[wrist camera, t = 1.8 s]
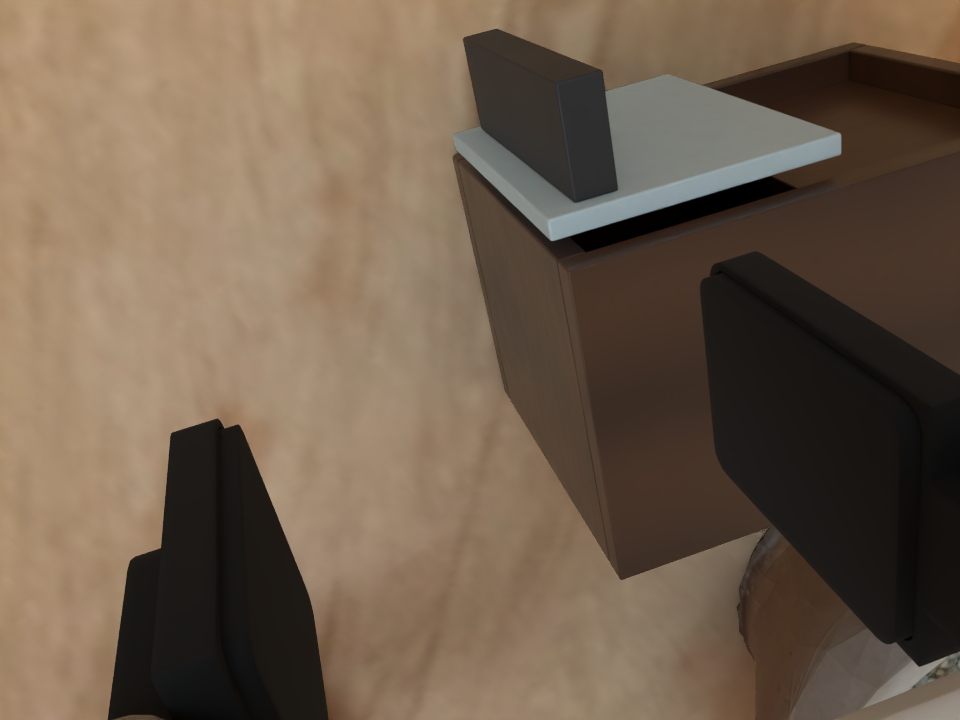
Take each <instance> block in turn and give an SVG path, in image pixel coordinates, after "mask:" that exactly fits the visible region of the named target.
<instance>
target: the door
mask: <svg viewBox="0 0 960 720" xmlns="http://www.w3.org/2000/svg"><path fill="white" fill-rule="evenodd" d="M463 42H464V47H465V52H466V57H467V61H468V66H469V71H470V76H471V81H472V86H473V91H474V96H475V100H476V105H477V110H478V115H479V120H480V125H481V126H479V127H476V128H472V129H468V130H465V131H461V132H458V133H454V134H453V138H454V143H455V147H456V150H457V151H458V152H459V153H460V154H461V155H462V156H463V157H464V158H465V159H466V160H467V161H468V162H470V163H471V164H472V165H473V166H474V167H475V168H476V169H477V170H478V171H479V172H480V173H481V174H482V175H483V176H484V177H485V178H486V179H487V180H488V181H489V182H490V183H491V184H492V185H493V186H494V187H496V188H497V189H498V190H499V191H500V192H501V193H502V194H503V195H504V196H505V197H506V198H507V199H508V200H509V201H510V202H511V203H512V204H513V205H514V206H515V207H516V208H517V209H518V210H519V211H520V212H521V213H523V214H524V215H525V216H526V217H527V218H528V219H529V220H530V221H531V222H532V223H533V224H534V225H535V226H536V227H537V228H538V229H539V230H540V231H541V232H542V233H543V234H544V235H545V236H546V237H547V238H549V239H550V240H551V241H555V240H559V239H562V238H565V237H569V236H572V235H575V234H579V233H582V232H585V231H589V230H592V229H595V228H599V227H602V226H605V225H609V224H612V223H615V222H619V221H622V220H625V219H629V218H632V217H635V216H639V215H642V214H645V213H649V212H652V211H655V210H659V209H662V208H665V207H669V206H672V205H675V204H679V203H682V202H685V201H689V200H692V199H695V198H699V197H702V196H705V195H709V194H712V193H715V192H719V191H722V190H725V189H729V188H732V187H735V186H739V185H742V184H745V183H749V182H752V181H755V180H759V179H762V178H765V177H769V176H772V175H775V174H779V173H782V172H785V171H789V170H792V169H795V168H799V167H802V166H805V165H809V164H812V163H815V162H819V161H822V160H825V159H829V158H832V157H835V156H839V155H841V134H840V133H838V132H835V131H833V130H830V129H827V128H824V127H821V126H818V125H815V124H812V123H809V122H806V121H804V120H801V119H798V118H795V117H792V116H789V115H786V114H783V113H780V112H778V111H775V110H772V109H769V108H766V107H763V106H760V105H757V104H754V103H752V102H749V101H746V100H743V99H740V98H737V97H734V96H731V95H728V94H725V93H723V92H720V91H717V90H714V89H711V88H708V87H705V86H702V85H699V84H697V83H694V82H691V81H688V80H685V79H682V78H679V77H676V76H673V75H671V74H666V75H662V76H659V77H655V78H651V79H648V80H644V81H641V82H637V83H633V84H630V85H626V86H623V87H619V88H616V89H612V90H608V91H605V86H604V79H603V72H602V70H600V69H597V68H595V67H592V66H590V65H587V64H584V63H582V62H579V61H577V60H574V59H572V58H569V57H567V56H564V55H562V54H559V53H557V52H554V51H552V50H549V49H547V48H544V47H542V46H539V45H537V44H534V43H531V42H529V41H526V40H524V39H521V38H519V37H516V36H514V35H511V34H509V33H506V32H504V31H501V30H499V29H494V30H490V31H486V32H482V33H479V34H475V35H471V36H467V37H464V38H463Z"/></svg>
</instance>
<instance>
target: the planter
mask: <svg viewBox="0 0 960 720" xmlns="http://www.w3.org/2000/svg"><path fill="white" fill-rule="evenodd" d="M739 592H740V603H739V604H738V606H737V610H738V617H739V630H740V633H741V635H742V636H743V637H744V642H745V644H746V647H747V648H748V650H749V652H750V654H751V655H752V657H753V659H754V660H755V662H756V716H755V720H835V719H837V718H840V717H842V716H845V715H848V714H850V713H853V712H855V711H858V710H860V709H863V708H865V707H868V706H871V705H873V704H876V703H878V702H881V701H883V700H886V699H888V698H891V697H893V696H896V695H899V694H901V693H904V692H906V691H909V690H911V689H914V688H916V687H919V686H921V685H924V684H927V683H929V682H932V681H934V680H937V679H939V678H942V677H945V676H947V675H950V674H952V673H955V672H958V671H960V652H957V653H955V654H952V655H950V656H947V657H944V658H942V659H939V660H937V661H934V662H932V663H929V664H927V665H924V666H921V667H918V666H917V664H916V663H915V662H914V661H913V660H912V659H911V658H910V657H909V656H908V655H907V654H906V653H905V652H904V651H903V650H902V648H901V647H900V646H899V645H898V644H897V643H896V642H895V643H893V644H885V643H883V642H881V641H880V640H879V639H878V638H877V637H875V635H874V634H873V633H872V632H871V631H870V630H869V629H868V628H867V627H866V626H865V625H864V624H863V622H862V621H861V620H860V619H859V618H858V617H857V616H856V615H855V614H854V613H853V612H852V610H851V609H850V608H849V607H848V606H847V605H846V604H845V603H844V602H843V601H842V600H841V598H840V597H839V596H838V595H837V594H836V593H835V592H834V591H833V590H832V589H831V588H830V587H829V585H828V584H827V583H826V582H825V581H824V580H823V579H822V578H821V577H820V576H819V575H818V573H817V572H816V571H815V570H814V569H813V568H812V567H811V566H810V565H809V564H808V563H807V561H806V560H805V559H804V558H803V557H802V556H801V555H800V554H799V553H798V552H797V551H796V550H795V548H794V547H793V546H792V545H791V544H790V543H789V542H788V541H787V540H786V539H785V538H784V536H783V535H782V534H781V533H780V532H779V531H778V530H777V529H776V528H775V527H774V526H771V527H770V528H769V530H768V531H767V532H766V534H765V537H764V538H763V539H762V540H761V541H760V542H759V543H758V546H757V548H756V549H755V551H754V552H753V554H752V557H751V561H750V564H749V566H748V568H747V571H746V573H745V575H744V578H743V580H742V584H741V586H740V587H739Z"/></svg>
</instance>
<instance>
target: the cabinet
mask: <svg viewBox="0 0 960 720" xmlns="http://www.w3.org/2000/svg"><path fill="white" fill-rule="evenodd" d="M702 86H705V87H708V88H711V89H714V90H717V91H720V92H723V93H725V94H728V95H731V96H734V97H737V98H740V99H743V100H746V101H749V102H752V103H754V104H757V105H760V106H763V107H766V108H769V109H772V110H775V111H778V112H780V113H783V114H786V115H789V116H792V117H795V118H798V119H801V120H804V121H806V122H809V123H812V124H815V125H818V126H821V127H824V128H827V129H830V130H833V131H835V132H838V133H840V134H841V155H839V156H835V157H832V158H829V159H825V160H822V161H819V162H815V163H812V164H809V165H805V166H802V167H799V168H795V169H792V170H789V171H785V172H782V173H779V174H775V175H772V176H769V177H765V178H762V179H759V180H755V181H752V182H749V183H745V184H742V185H739V186H735V187H732V188H729V189H725V190H722V191H719V192H715V193H712V194H709V195H705V196H702V197H699V198H695V199H692V200H689V201H685V202H682V203H679V204H675V205H672V206H669V207H665V208H662V209H659V210H655V211H652V212H649V213H645V214H642V215H639V216H635V217H632V218H629V219H625V220H622V221H619V222H615V223H612V224H609V225H605V226H602V227H599V228H595V229H592V230H589V231H585V232H582V233H579V234H575V235H572V236H569V237H565V238H562V239H559V240H555V241H551V240H550V239H549V238H547V237H546V236H545V235H544V234H543V233H542V232H541V231H540V230H539V229H538V228H537V227H536V226H535V225H534V224H533V223H532V222H531V221H530V220H529V219H528V218H527V217H526V216H525V215H524V214H523V213H521V212H520V211H519V210H518V209H517V208H516V207H515V206H514V205H513V204H512V203H511V202H510V201H509V200H508V199H507V198H506V197H505V196H504V195H503V194H502V193H501V192H500V191H499V190H498V189H497V188H496V187H494V186H493V185H492V184H491V183H490V182H489V181H488V180H487V179H486V178H485V177H484V176H483V175H482V174H481V173H480V172H479V171H478V170H477V169H476V168H475V167H474V166H473V165H472V164H471V163H470V162H468V161H467V160H466V159H465V158H464V157H463V156H462V155H461V154H456V155H454V156H453V161H454V166H455V170H456V175H457V179H458V184H459V188H460V193H461V197H462V201H463V206H464V210H465V215H466V219H467V224H468V228H469V233H470V237H471V242H472V246H473V250H474V255H475V259H476V264H477V268H478V273H479V277H480V282H481V286H482V291H483V295H484V299H485V304H486V308H487V313H488V317H489V322H490V326H491V331H492V335H493V340H494V344H495V348H496V353H497V357H498V362H499V366H500V371H501V375H502V380H503V384H504V389H505V392H506V393H507V395H508V397H509V398H510V400H511V402H512V403H513V405H514V407H515V408H516V410H517V412H518V413H519V415H520V416H521V418H522V420H523V421H524V423H525V425H526V426H527V428H528V429H529V431H530V433H531V434H532V436H533V438H534V439H535V441H536V443H537V444H538V446H539V447H540V449H541V451H542V452H543V454H544V456H545V457H546V459H547V460H548V462H549V464H550V465H551V467H552V469H553V470H554V472H555V474H556V475H557V477H558V478H559V480H560V482H561V483H562V485H563V487H564V488H565V490H566V491H567V493H568V495H569V496H570V498H571V500H572V501H573V503H574V504H575V506H576V508H577V509H578V511H579V513H580V514H581V516H582V518H583V519H584V521H585V522H586V524H587V526H588V527H589V529H590V531H591V532H592V534H593V535H594V537H595V539H596V540H597V542H598V544H599V545H600V547H601V549H602V550H603V552H604V553H605V555H606V557H607V558H608V560H609V561H610V563H611V565H612V567H613V568H614V570H615V572H616V573H617V575H618V577H619V578H620V579H621V580H623V579H626V578H629V577H631V576H634V575H637V574H640V573H642V572H645V571H648V570H651V569H654V568H656V567H659V566H662V565H665V564H668V563H670V562H673V561H676V560H679V559H682V558H684V557H687V556H690V555H693V554H696V553H698V552H701V551H704V550H707V549H710V548H712V547H715V546H718V545H721V544H724V543H726V542H729V541H732V540H735V539H738V538H740V537H743V536H746V535H749V534H751V533H754V532H757V531H760V530H763V529H765V528H768V527H771V526H773V524H772V523H771V522H770V521H769V520H768V519H767V518H766V517H765V516H764V515H763V514H762V513H761V511H760V510H759V509H758V508H757V507H756V506H755V505H754V504H753V503H752V502H751V501H750V499H749V498H748V497H747V496H746V495H745V494H744V493H743V492H742V491H741V490H740V489H739V487H738V486H737V485H736V484H735V483H734V482H733V481H732V480H731V479H730V478H729V477H728V476H727V474H726V473H725V472H724V470H723V469H722V467H721V465H720V463H719V461H718V458H717V455H716V452H715V446H714V436H713V426H712V415H711V404H710V394H709V383H708V372H707V361H706V351H705V340H704V329H703V318H702V308H701V297H700V284H701V281H702V280H703V279H704V278H707V277H710V271H711V268H712V266H713V265H714V264H715V263H718V262H722V261H725V260H728V259H731V258H734V257H738V256H741V255H744V254H747V253H750V252H754V251H757V252H760V253H762V254H764V255H765V256H767V257H769V258H770V259H772V260H774V261H775V262H777V263H778V264H780V265H782V266H783V267H785V268H787V269H788V270H790V271H791V272H793V273H795V274H796V275H798V276H800V277H801V278H803V279H804V280H806V281H808V282H809V283H811V284H813V285H814V286H816V287H818V288H819V289H821V290H822V291H824V292H826V293H827V294H829V295H831V296H832V297H834V298H835V299H837V300H839V301H840V302H842V303H844V304H845V305H847V306H848V307H850V308H852V309H853V310H855V311H857V312H858V313H860V314H861V315H863V316H865V317H866V318H868V319H870V320H871V321H873V322H874V323H876V324H878V325H879V326H881V327H883V328H884V329H886V330H887V331H889V332H891V333H892V334H894V335H896V336H897V337H899V338H901V339H902V340H904V341H905V342H907V343H909V344H910V345H912V346H914V347H915V348H917V349H918V350H920V351H922V352H923V353H925V354H927V355H928V356H930V357H931V358H933V359H935V360H936V361H938V362H940V363H941V364H943V365H944V366H946V367H948V368H949V369H951V370H953V371H954V372H956V373H957V374H959V375H960V63H956V62H951V61H946V60H941V59H935V58H930V57H925V56H920V55H915V54H910V53H905V52H900V51H895V50H890V49H885V48H879V47H874V46H869V45H865V44H859V43H850V44H847V45H843V46H840V47H836V48H832V49H829V50H825V51H822V52H818V53H815V54H811V55H808V56H804V57H801V58H797V59H793V60H790V61H786V62H783V63H779V64H776V65H772V66H769V67H765V68H762V69H758V70H754V71H751V72H747V73H744V74H740V75H737V76H733V77H730V78H726V79H723V80H719V81H715V82H712V83H708V84H705V85H702Z"/></svg>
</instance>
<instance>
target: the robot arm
mask: <svg viewBox="0 0 960 720" xmlns="http://www.w3.org/2000/svg"><path fill="white" fill-rule="evenodd" d="M700 297H701V308H702V318H703V329H704V340H705V351H706V361H707V372H708V383H709V394H710V404H711V415H712V426H713V436H714V446H715V452H716V455H717V458H718V461H719V463H720V465H721V467H722V469H723V470H724V472H725V473H726V474H727V476H728V477H729V478H730V479H731V480H732V481H733V482H734V483H735V484H736V485H737V486H738V487H739V489H740V490H741V491H742V492H743V493H744V494H745V495H746V496H747V497H748V498H749V499H750V501H751V502H752V503H753V504H754V505H755V506H756V507H757V508H758V509H759V510H760V511H761V513H762V514H763V515H764V516H765V517H766V518H767V519H768V520H769V521H770V522H771V523H772V524H773V526H774V527H775V528H776V529H777V530H778V531H779V532H780V533H781V534H782V535H783V536H784V538H785V539H786V540H787V541H788V542H789V543H790V544H791V545H792V546H793V547H794V548H795V550H796V551H797V552H798V553H799V554H800V555H801V556H802V557H803V558H804V559H805V560H806V561H807V563H808V564H809V565H810V566H811V567H812V568H813V569H814V570H815V571H816V572H817V573H818V575H819V576H820V577H821V578H822V579H823V580H824V581H825V582H826V583H827V584H828V585H829V587H830V588H831V589H832V590H833V591H834V592H835V593H836V594H837V595H838V596H839V597H840V598H841V600H842V601H843V602H844V603H845V604H846V605H847V606H848V607H849V608H850V609H851V610H852V612H853V613H854V614H855V615H856V616H857V617H858V618H859V619H860V620H861V621H862V622H863V624H864V625H865V626H866V627H867V628H868V629H869V630H870V631H871V632H872V633H873V634H874V635H875V637H877V638H878V639H879V640H880V641H881V642H883V643H885V644H893V643H895V642H896V643H897V644H898V645H899V646H900V647H901V648H902V650H903V651H904V652H905V653H906V654H907V655H908V656H909V657H910V658H911V659H912V660H913V661H914V662H915V663H916V664H917V666H918V667H921V666H924V665H927V664H929V663H932V662H934V661H937V660H939V659H942V658H944V657H947V656H950V655H952V654H955V653H957V652H960V375H959V374H957V373H956V372H954V371H953V370H951V369H949V368H948V367H946V366H944V365H943V364H941V363H940V362H938V361H936V360H935V359H933V358H931V357H930V356H928V355H927V354H925V353H923V352H922V351H920V350H918V349H917V348H915V347H914V346H912V345H910V344H909V343H907V342H905V341H904V340H902V339H901V338H899V337H897V336H896V335H894V334H892V333H891V332H889V331H887V330H886V329H884V328H883V327H881V326H879V325H878V324H876V323H874V322H873V321H871V320H870V319H868V318H866V317H865V316H863V315H861V314H860V313H858V312H857V311H855V310H853V309H852V308H850V307H848V306H847V305H845V304H844V303H842V302H840V301H839V300H837V299H835V298H834V297H832V296H831V295H829V294H827V293H826V292H824V291H822V290H821V289H819V288H818V287H816V286H814V285H813V284H811V283H809V282H808V281H806V280H804V279H803V278H801V277H800V276H798V275H796V274H795V273H793V272H791V271H790V270H788V269H787V268H785V267H783V266H782V265H780V264H778V263H777V262H775V261H774V260H772V259H770V258H769V257H767V256H765V255H764V254H762V253H760V252H757V251H754V252H750V253H747V254H744V255H741V256H738V257H734V258H731V259H728V260H725V261H722V262H718V263H715V264H714V265H713V266H712V268H711V271H710V277H707V278H704V279H703V280H702V281H701V284H700ZM108 720H329V719H328V712H327V705H326V698H325V691H324V684H323V677H322V670H321V663H320V656H319V649H318V642H317V635H316V628H315V621H314V615H313V610H312V605H311V602H310V598H309V595H308V592H307V589H306V586H305V584H304V581H303V579H302V576H301V574H300V571H299V569H298V567H297V564H296V562H295V559H294V557H293V554H292V552H291V549H290V547H289V544H288V542H287V539H286V537H285V534H284V532H283V529H282V527H281V524H280V522H279V519H278V517H277V514H276V512H275V509H274V507H273V505H272V502H271V500H270V497H269V495H268V492H267V490H266V487H265V485H264V482H263V480H262V477H261V475H260V472H259V470H258V467H257V465H256V462H255V460H254V457H253V455H252V452H251V450H250V447H249V445H248V442H247V440H246V438H245V435H244V433H243V431H242V429H241V427H240V426H239V425H235V426H232V427H228V428H225V429H224V427H223V425H222V423H221V421H220V420H219V419H215V420H211V421H208V422H205V423H202V424H199V425H195V426H192V427H189V428H186V429H182V430H179V431H176V432H173V433H171V437H170V449H169V461H168V473H167V485H166V496H165V508H164V520H163V532H162V544H161V548H160V549H157V550H154V551H151V552H148V553H145V554H142V555H139V556H136V557H134V558H133V559H132V560H131V561H130V563H129V567H128V571H127V578H126V586H125V594H124V601H123V609H122V616H121V624H120V631H119V639H118V646H117V654H116V662H115V669H114V677H113V684H112V692H111V699H110V707H109V714H108ZM835 720H960V671H958V672H955V673H952V674H950V675H947V676H945V677H942V678H939V679H937V680H934V681H932V682H929V683H927V684H924V685H921V686H919V687H916V688H914V689H911V690H909V691H906V692H904V693H901V694H899V695H896V696H893V697H891V698H888V699H886V700H883V701H881V702H878V703H876V704H873V705H871V706H868V707H865V708H863V709H860V710H858V711H855V712H853V713H850V714H848V715H845V716H842V717H840V718H837V719H835Z"/></svg>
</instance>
